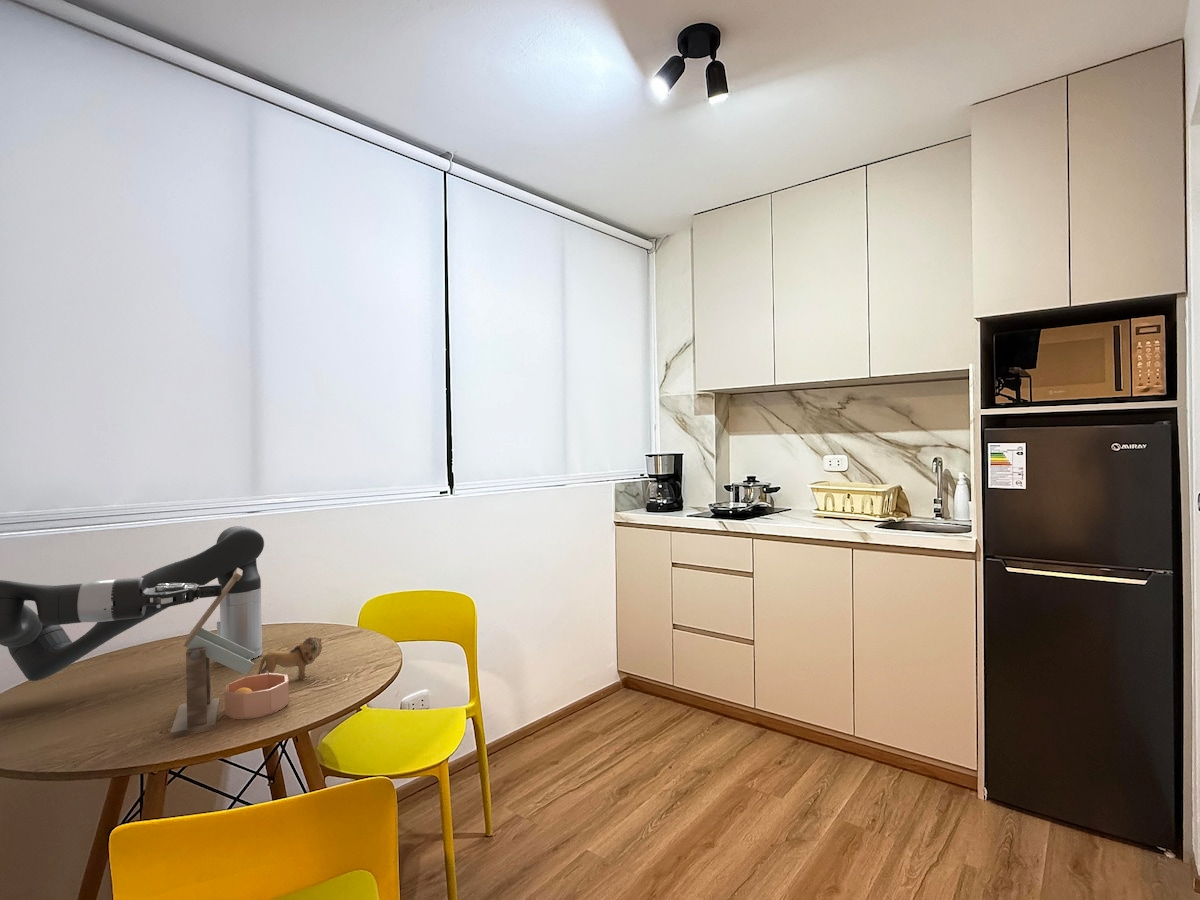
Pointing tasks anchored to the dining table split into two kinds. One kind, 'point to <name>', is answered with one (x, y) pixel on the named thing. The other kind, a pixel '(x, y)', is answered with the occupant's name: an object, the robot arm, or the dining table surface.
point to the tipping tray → (220, 638)
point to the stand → (196, 697)
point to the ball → (244, 690)
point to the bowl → (257, 696)
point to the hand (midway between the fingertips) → (221, 589)
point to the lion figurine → (293, 657)
